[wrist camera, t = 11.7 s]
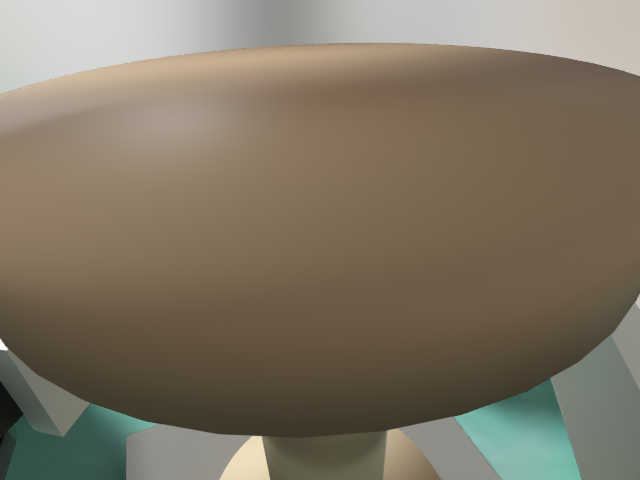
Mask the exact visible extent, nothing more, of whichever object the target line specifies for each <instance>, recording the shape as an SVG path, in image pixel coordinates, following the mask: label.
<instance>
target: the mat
mask: <svg viewBox="0 0 640 480" xmlns="http://www.w3.org/2000/svg"><path fill="white" fill-rule="evenodd" d="M397 429H399V430H400V431H402V432H403V433H404V434H405V435H406V436H407V437H408V438H409V439H411V440H412V441H413V442H414V443H415V444H416V446H417V447H418V448H419V449H420V450H421V451H422V452H423V453H424V455H425V456H426V458H427V459H428V460H429V462H430V463H431V464H432V466H433V468H434V469H435V471H436V473H437V475H438V476H439V478H440V480H501V479H500V477H499V476H498V475H497V474H496V472H495V471H494V470H493V468H492V467H491V466H490V464H489V463H488V462H487V461H486V459H485V458H484V457H483V455H482V454H481V453H480V451H479V450H478V449H477V448H476V446H475V445H474V444H473V442H472V441H471V440H470V438H469V437H468V436H467V435H466V433H465V432H464V431H463V429H462V428H461V427H460V425H459V424H458V423H457V421H456V420H455V419H454V418H453V417H448V418H444V419H439V420H434V421H429V422H425V423H420V424H415V425H411V426H406V427H401V428H397ZM251 437H252V436H246V435H223V434H214V433H209V432H203V431H197V430H192V429H186V428H180V427H175V426H169V425H164V424H159V425H156V426H153V427H150V428H147V429H144V430H142V431H139V432H136V433H133V434H130V435H127V436H126V480H219V479H220V477H221V476H222V474H223V472H224V470H225V468H226V467H227V465H228V464H229V462H230V461H231V459H232V458H233V456H234V455H235V454H236V453H237V452H238V450H239V449H240V448H241V447H242V446H243V444H244V443H246V442H247V441H248V440H249V439H250V438H251Z"/></svg>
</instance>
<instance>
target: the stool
mask: <svg viewBox="0 0 640 480" xmlns="http://www.w3.org/2000/svg"><path fill="white" fill-rule="evenodd" d="M639 294H640V76H637V75H634V74H631V73H628V72H625V71H621V70H617V69H614V68H610V67H606V66H602V65H597V64H593V63H588V62H583V61H578V60H573V59H568V58H561V57H556V56H550V55H544V54H536V53H529V52H521V51H512V50H503V49H493V48H481V47H469V46H454V45H437V44H410V43H333V44H304V45H285V46H268V47H255V48H242V49H231V50H221V51H211V52H202V53H194V54H185V55H178V56H170V57H163V58H157V59H150V60H143V61H137V62H131V63H125V64H120V65H114V66H108V67H104V68H99V69H94V70H89V71H84V72H80V73H75V74H71V75H66V76H63V77H58V78H54V79H50V80H46V81H43V82H39V83H36V84H32V85H28V86H25V87H22V88H18V89H15V90H12V91H9V92H6V93H2V94H0V339H1V340H2V342H3V343H4V345H5V346H6V347H7V348H8V349H9V350H10V351H11V352H12V353H13V354H15V355H16V356H17V357H18V358H19V359H20V360H21V361H22V362H23V363H24V364H26V365H27V366H28V367H29V368H30V369H31V370H32V371H33V372H34V373H36V374H37V375H38V376H40V377H42V378H44V379H46V380H47V381H49V382H51V383H53V384H55V385H56V386H58V387H60V388H62V389H64V390H65V391H67V392H69V393H71V394H73V395H74V396H76V397H78V398H80V399H82V400H84V401H87V402H90V403H93V404H96V405H98V406H101V407H104V408H107V409H110V410H113V411H116V412H119V413H122V414H125V415H128V416H131V417H134V418H137V419H140V420H143V421H147V422H152V423H158V424H164V425H169V426H175V427H180V428H186V429H192V430H197V431H203V432H209V433H214V434H223V435H246V436H252V437H251V438H250V439H249V440H248V441H247V442H246V443H244V444H243V446H242V447H241V448H240V449H239V450H238V452H237V453H236V454H235V455H234V456H233V458H232V459H231V461H230V462H229V464H228V465H227V467H226V468H225V470H224V472H223V474H222V476H221V477H220V479H219V480H440V478H439V476H438V475H437V473H436V471H435V469H434V468H433V466H432V464H431V463H430V462H429V460H428V459H427V458H426V456H425V455H424V453H423V452H422V451H421V450H420V449H419V448H418V447H417V446H416V444H415V443H414V442H413V441H412V440H411V439H409V438H408V437H407V436H406V435H405V434H404V433H403V432H402V431H400V430H399V429H397V428H401V427H406V426H411V425H415V424H420V423H425V422H429V421H434V420H439V419H444V418H448V417H453V416H458V415H462V414H465V413H468V412H470V411H473V410H476V409H479V408H481V407H484V406H487V405H490V404H492V403H495V402H498V401H501V400H503V399H506V398H509V397H512V396H515V395H517V394H520V393H523V392H526V391H528V390H530V389H531V388H533V387H535V386H537V385H539V384H540V383H542V382H544V381H546V380H548V379H549V378H551V377H553V376H555V375H557V374H558V373H560V372H562V371H564V370H566V369H567V368H569V367H571V366H573V365H574V364H576V363H578V362H579V361H580V360H582V359H583V358H584V357H585V356H586V355H587V354H589V353H590V352H591V351H592V350H593V349H595V348H596V347H597V346H598V345H599V344H600V343H602V342H603V341H604V340H605V339H606V338H607V337H609V336H610V335H611V334H612V333H613V332H614V331H615V330H616V328H617V327H618V326H619V324H620V323H621V321H622V320H623V318H624V317H625V316H626V314H627V313H628V311H629V310H630V309H631V307H632V306H633V304H634V303H635V302H636V300H637V298H638V296H639Z"/></svg>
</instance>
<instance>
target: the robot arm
mask: <svg viewBox="0 0 640 480" xmlns="http://www.w3.org/2000/svg"><path fill="white" fill-rule="evenodd" d="M550 379H551V382H552V385H553V388H554V392H555V395H556V398H557V401H558V404H559V408H560V411H561V414H562V417H563V420H564V424H565V427H566V430H567V433H568V436H569V440H570V443H571V446H572V449H573V452H574V456H575V459H576V462H577V465H578V469H579V472H580V475H581V478H582V480H640V309H639V308H638V306H637V305H636V303H634V304H633V306H632V307H631V309H630V310H629V311H628V313H627V314H626V316H625V317H624V318H623V320H622V321H621V323H620V324H619V326H618V327H617V328H616V330H615V331H614V332H613V333H612V334H611V335H610V336H609V337H607V338H606V339H605V340H604V341H603V342H602V343H600V344H599V345H598V346H597V347H596V348H595V349H593V350H592V351H591V352H590V353H589V354H587V355H586V356H585V357H584V358H583V359H582V360H580V361H579V362H578V363H576V364H574V365H573V366H571V367H569V368H567V369H566V370H564V371H562V372H560V373H558V374H557V375H555V376H553V377H551V378H550ZM89 404H90V402H87V401H84V400H82V399H80V398H78V397H76V396H74V395H73V394H71V393H69V392H67V391H65V390H64V389H62V388H60V387H58V386H56V385H55V384H53V383H51V382H49V381H47V380H46V379H44V378H42V377H40V376H38V375H37V374H36V373H34V372H33V371H32V370H31V369H30V368H29V367H28V366H27V365H26V364H24V363H23V362H22V361H21V360H20V359H19V358H18V357H17V356H16V355H15V354H13V353H12V352H11V351H10V350H9V349H8V348H7V347H6V346H5V345H4V343H3V342H2V340H1V339H0V480H4V479H5V476H6V472H7V469H8V466H9V463H10V460H11V456H12V453H13V450H14V447H15V443H16V434H17V433H16V431H15V430H14V429H13V427H12V426H13V424H14V423H15V422H16V421H17V420H18V419H19V418H20V417H21V416H22V415H23V416H24V417H25V418H26V420H27V421H28V423H29V424H30V425H31V427H32V428H33V430H34V431H38V432H42V433H47V434H51V435H56V436H60V437H64V436H65V434H66V433H67V432H68V431H69V429H70V428H71V427H72V426H73V424H74V423H75V422H76V420H77V419H78V418H79V417H80V415H81V414H82V413H83V412H84V410H85V409H86V408H87V407H88V405H89Z"/></svg>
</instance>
